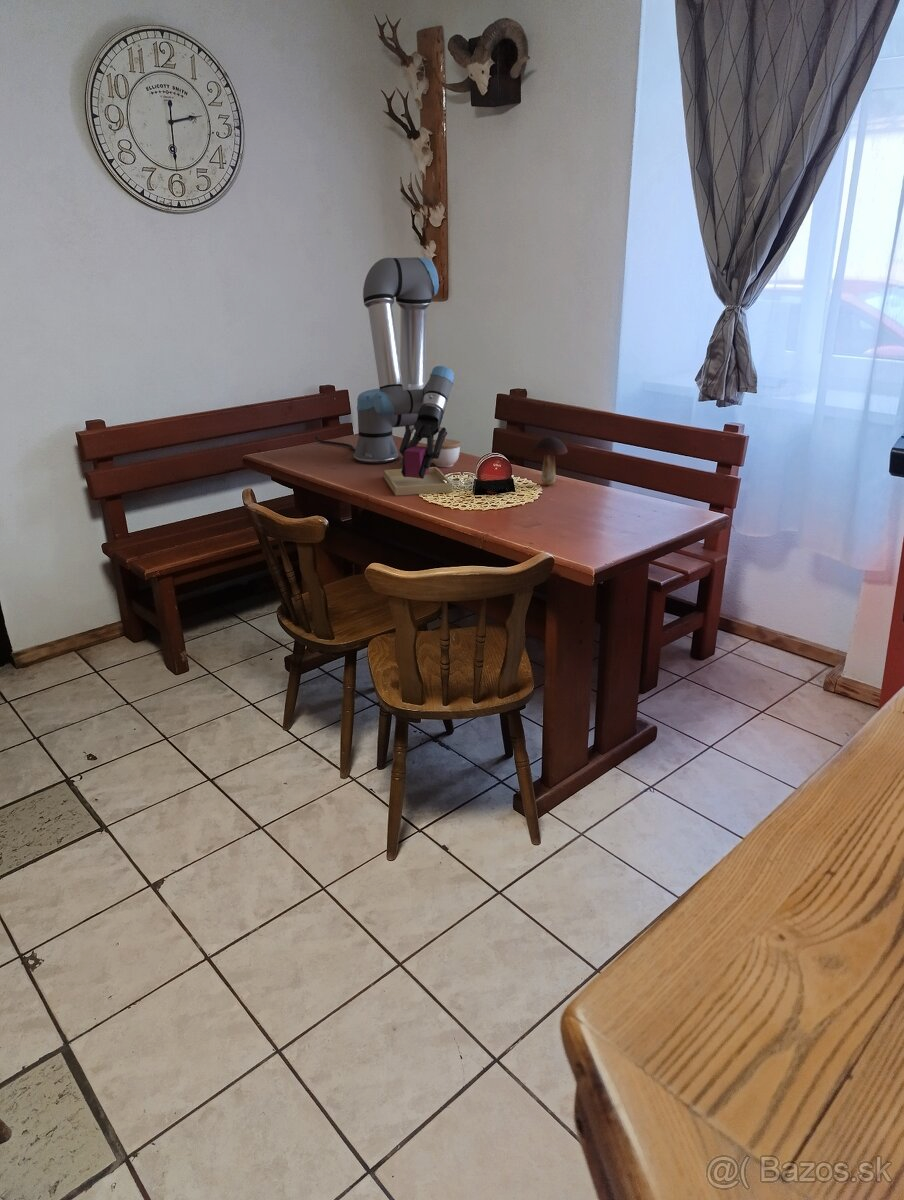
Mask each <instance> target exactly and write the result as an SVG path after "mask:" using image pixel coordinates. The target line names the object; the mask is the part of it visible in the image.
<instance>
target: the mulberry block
mask: <svg viewBox="0 0 904 1200" xmlns="http://www.w3.org/2000/svg"><path fill="white" fill-rule="evenodd" d="M426 453H427V446H419V445H417V446H413V447H411V448H409V449H407V450H405V477H413V478H421V477H420V476H419V471H420V468H421V464H422V461H423V458H424V455H425V456H427V454H426ZM428 473H429V468H426V472H425V475H426V474H428Z"/></svg>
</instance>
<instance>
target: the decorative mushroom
mask: <svg viewBox="0 0 904 1200" xmlns="http://www.w3.org/2000/svg"><path fill="white" fill-rule="evenodd" d="M531 452H532V453H534V454H535V453H536V454H537V455H542V456H544V457H543V463H542V469H541V482H542V484H543V485H545V486H548V487H550V486H553V485H554V484H555V481H556V457H555V456H560V455H565V454H567V453H569V450H568V449H567V446H566V444H564V443H563V441H561V440H560V439H558V438H557V437H555V436H546V437H543V438H542V439H540V440H539V441H537V442H536V443H535V444H534V445H533V446H532V448H531Z"/></svg>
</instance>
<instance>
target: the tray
mask: <svg viewBox="0 0 904 1200" xmlns="http://www.w3.org/2000/svg"><path fill="white" fill-rule="evenodd" d="M401 471H402V468H398V469H397V468H396V469H395V468H394V469H384V470H383V478H384V481H386V483H387V485H388V486H389V487H390V489H391V491H392V492H393V494H394V495H395V496H412V495H422V494H423V495H425V494H427V495H428V494H443V493H453V483H452V482H451V480H449V478H448V477H447V476H446V475H445V473H443V472H442V471H441V470H440V469H439V467H438V466H432V467H431V466H430V467H429V473H428V474H426V475H424V478H423V479H421V478H413V477H404V476H403V474H402V473H401ZM443 480H446V481H447V483H445V482H444V481H443Z"/></svg>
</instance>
